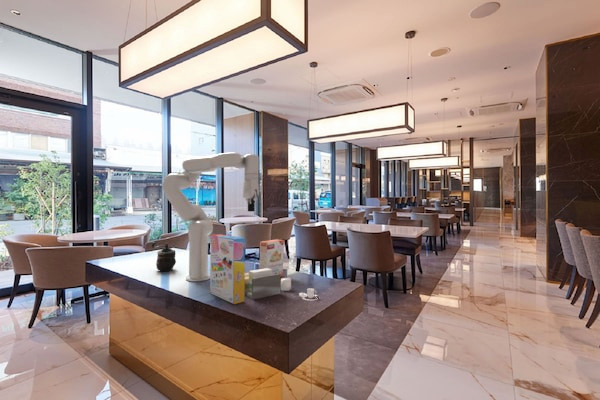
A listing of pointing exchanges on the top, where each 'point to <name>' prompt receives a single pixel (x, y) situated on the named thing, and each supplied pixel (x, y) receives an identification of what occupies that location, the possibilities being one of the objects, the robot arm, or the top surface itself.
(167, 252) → the coffee grinder
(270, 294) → the stand
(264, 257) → the cracker box
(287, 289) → the white rounded block
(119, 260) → the top surface
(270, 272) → the carton
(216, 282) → the game box
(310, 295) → the teacup and saucer
